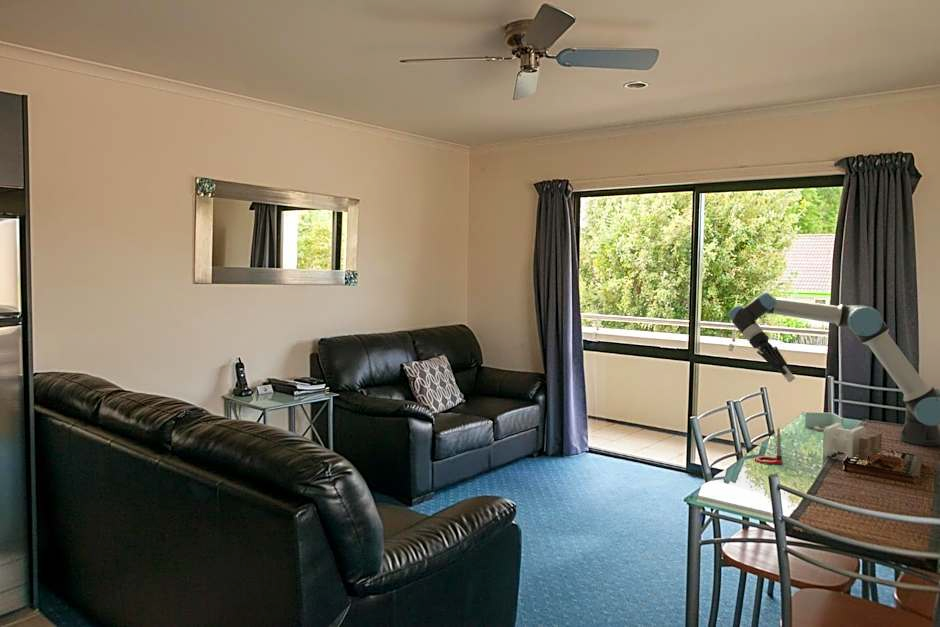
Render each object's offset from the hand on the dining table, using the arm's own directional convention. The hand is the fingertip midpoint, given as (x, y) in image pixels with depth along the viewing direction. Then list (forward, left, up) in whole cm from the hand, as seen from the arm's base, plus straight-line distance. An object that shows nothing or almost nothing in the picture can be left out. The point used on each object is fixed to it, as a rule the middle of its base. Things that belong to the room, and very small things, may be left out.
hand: (792, 380), depth 283 cm
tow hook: (+34, +10, -26) cm, 44 cm away
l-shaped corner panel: (-33, -2, -27) cm, 42 cm away
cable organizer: (+4, +23, -26) cm, 35 cm away
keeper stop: (+4, +27, -26) cm, 38 cm away
